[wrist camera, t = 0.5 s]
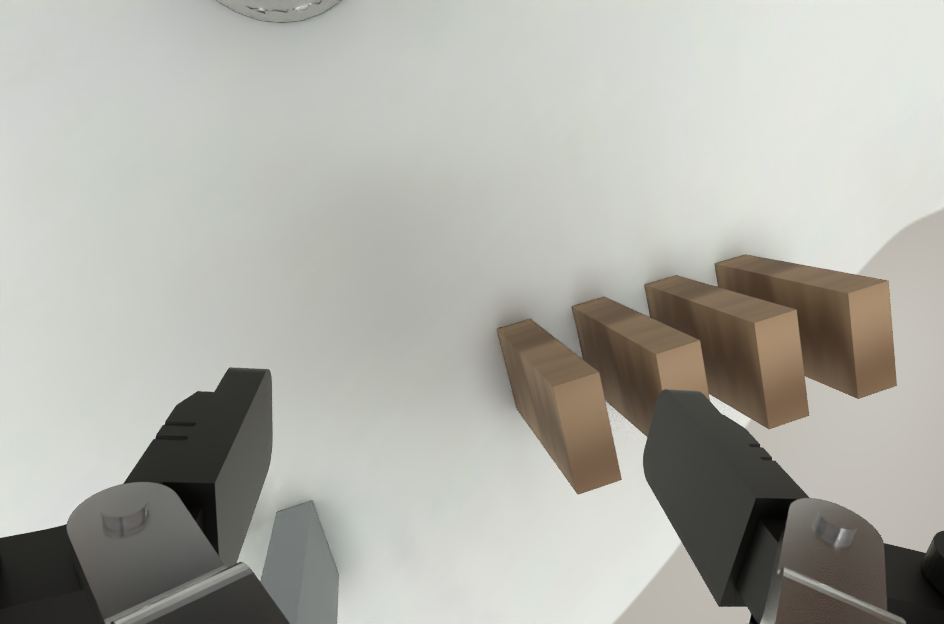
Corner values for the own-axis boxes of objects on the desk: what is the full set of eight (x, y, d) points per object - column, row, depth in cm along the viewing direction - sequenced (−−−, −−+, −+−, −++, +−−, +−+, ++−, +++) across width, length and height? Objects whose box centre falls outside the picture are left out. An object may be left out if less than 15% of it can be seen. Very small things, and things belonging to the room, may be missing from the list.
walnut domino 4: (714, 263, 36) (848, 293, 26) (745, 254, 36) (888, 280, 26) (726, 342, 37) (858, 398, 27) (756, 333, 37) (896, 385, 28)
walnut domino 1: (496, 328, 34) (552, 386, 24) (530, 318, 34) (599, 372, 25) (516, 409, 35) (577, 494, 26) (549, 398, 35) (621, 479, 26)
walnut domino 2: (571, 306, 35) (655, 354, 25) (604, 296, 35) (699, 340, 25) (589, 386, 36) (675, 461, 26) (620, 376, 36) (717, 447, 26)
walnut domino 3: (644, 284, 35) (754, 322, 25) (676, 275, 35) (796, 309, 26) (659, 364, 36) (769, 429, 27) (689, 354, 37) (809, 415, 27)
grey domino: (276, 511, 34) (246, 642, 24) (312, 500, 34) (295, 625, 24) (304, 586, 35) (286, 739, 25) (338, 574, 35) (333, 721, 26)
